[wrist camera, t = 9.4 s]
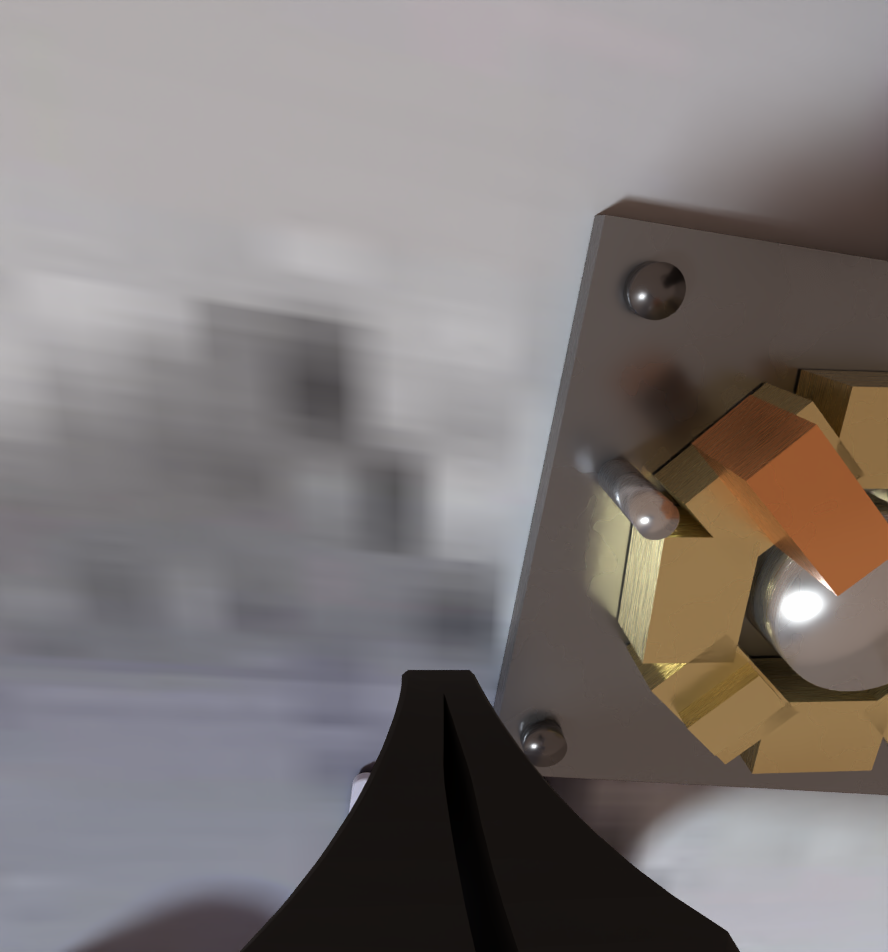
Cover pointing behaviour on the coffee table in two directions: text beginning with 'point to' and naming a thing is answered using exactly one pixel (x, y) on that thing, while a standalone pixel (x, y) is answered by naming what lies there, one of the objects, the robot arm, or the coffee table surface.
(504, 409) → the coffee table surface
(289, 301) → the coffee table surface
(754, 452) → the gold blocky ring
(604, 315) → the flange plate
